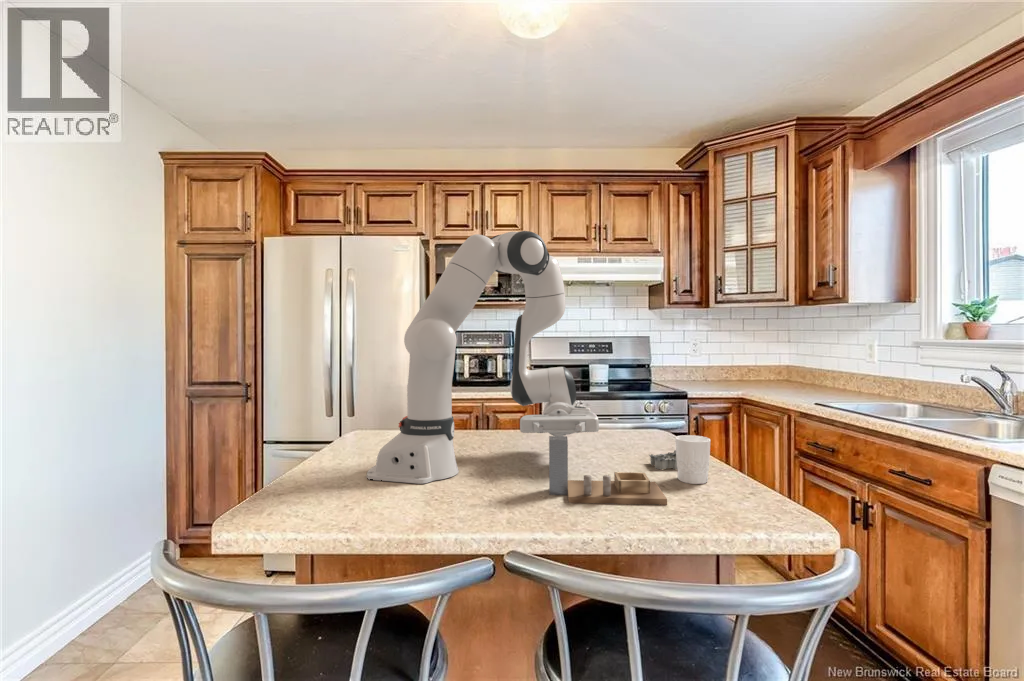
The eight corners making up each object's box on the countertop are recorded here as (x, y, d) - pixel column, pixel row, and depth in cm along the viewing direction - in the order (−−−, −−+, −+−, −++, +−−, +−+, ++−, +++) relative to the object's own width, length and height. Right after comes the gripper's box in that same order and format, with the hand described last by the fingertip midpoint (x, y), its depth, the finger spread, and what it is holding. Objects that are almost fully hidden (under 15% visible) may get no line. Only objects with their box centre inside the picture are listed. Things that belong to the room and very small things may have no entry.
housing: (568, 502, 105) (568, 477, 105) (566, 485, 117) (566, 462, 117) (667, 504, 104) (667, 479, 103) (655, 486, 116) (655, 464, 115)
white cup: (715, 485, 117) (715, 441, 117) (681, 485, 117) (681, 441, 117) (703, 475, 125) (703, 435, 124) (671, 475, 125) (671, 435, 125)
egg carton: (687, 463, 137) (687, 448, 137) (697, 471, 130) (697, 455, 130) (647, 463, 137) (647, 448, 137) (655, 471, 130) (656, 455, 130)
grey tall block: (549, 494, 110) (549, 439, 110) (549, 489, 114) (549, 436, 114) (567, 495, 110) (567, 440, 110) (567, 489, 114) (567, 436, 114)
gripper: (520, 408, 139) (516, 417, 125) (595, 407, 137) (600, 416, 123) (520, 431, 139) (517, 442, 125) (596, 430, 137) (601, 441, 124)
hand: (559, 429), depth 124 cm, fingers open, 8 cm apart
